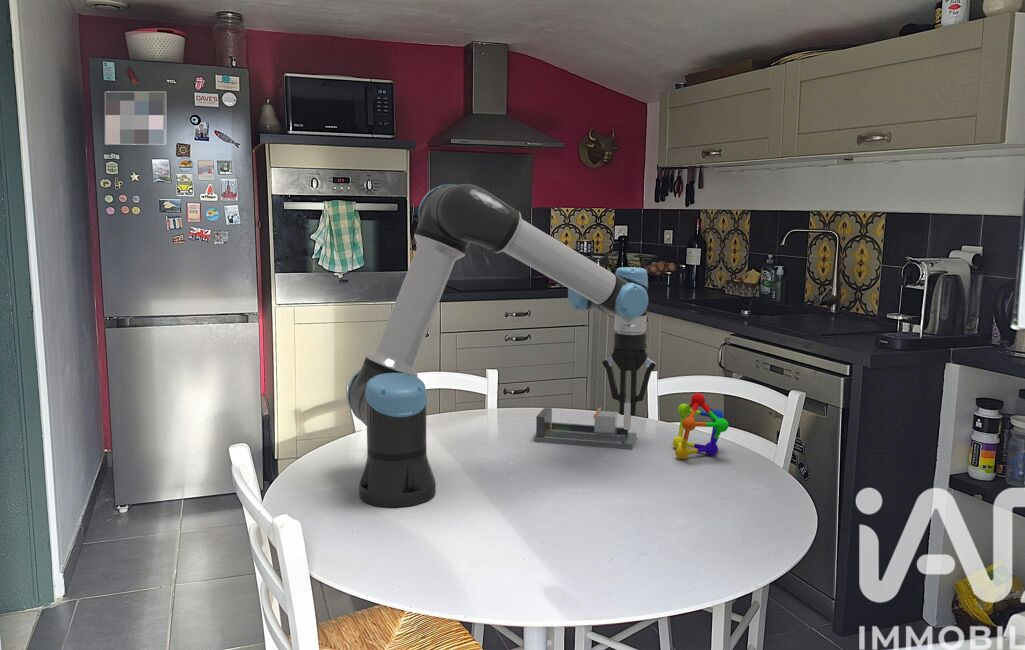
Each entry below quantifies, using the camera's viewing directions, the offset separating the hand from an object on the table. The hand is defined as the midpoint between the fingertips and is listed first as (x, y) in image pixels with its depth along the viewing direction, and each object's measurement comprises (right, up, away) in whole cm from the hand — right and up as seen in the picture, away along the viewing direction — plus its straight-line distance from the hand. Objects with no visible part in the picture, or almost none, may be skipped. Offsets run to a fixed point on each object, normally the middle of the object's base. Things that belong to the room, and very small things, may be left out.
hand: (627, 428), depth 199 cm
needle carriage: (-5, -2, +2) cm, 6 cm away
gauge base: (-10, -3, +3) cm, 11 cm away
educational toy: (+15, -5, -8) cm, 18 cm away
